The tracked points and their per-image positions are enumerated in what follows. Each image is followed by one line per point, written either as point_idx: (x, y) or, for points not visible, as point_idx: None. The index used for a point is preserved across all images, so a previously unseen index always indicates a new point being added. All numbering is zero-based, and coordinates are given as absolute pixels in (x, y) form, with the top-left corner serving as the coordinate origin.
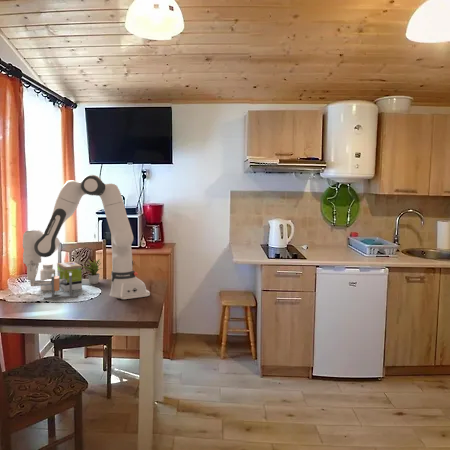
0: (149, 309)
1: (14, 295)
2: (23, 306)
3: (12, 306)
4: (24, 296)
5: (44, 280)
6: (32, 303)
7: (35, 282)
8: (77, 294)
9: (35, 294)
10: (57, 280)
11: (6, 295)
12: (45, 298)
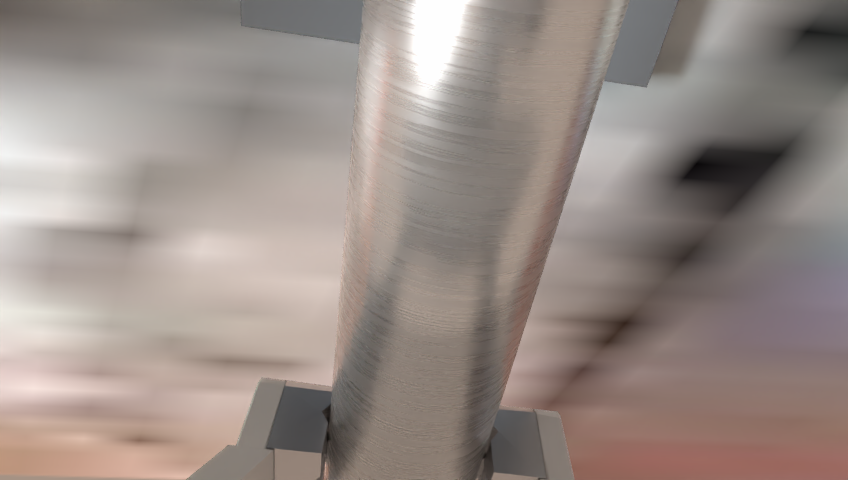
0: None
1: (159, 406)
2: (833, 358)
3: (727, 443)
4: (256, 317)
5: (498, 242)
6: (763, 257)
7: (487, 437)
8: None
9: (158, 173)
10: None
11: (139, 465)
12: (655, 49)
